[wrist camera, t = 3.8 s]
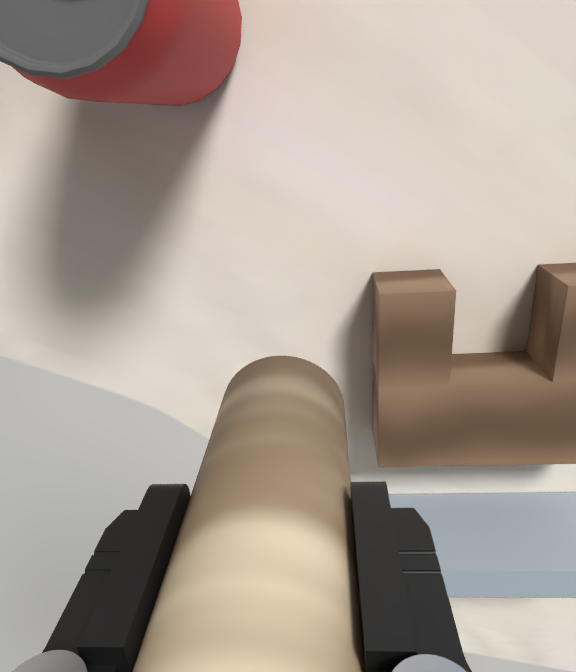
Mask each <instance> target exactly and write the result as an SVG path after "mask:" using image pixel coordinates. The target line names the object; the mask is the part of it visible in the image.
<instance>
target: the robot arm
mask: <svg viewBox="0 0 576 672" xmlns="http://www.w3.org/2000/svg"><path fill="white" fill-rule="evenodd" d="M350 495H351V510H352V523H353V535H354V547H355V559H356V572H357V584H358V596H359V609H360V621H361V633H362V646H363V658H364V670H365V672H472V671H471V670H470V668H469V666H468V664H467V662H466V660H465V657H464V654H463V651H462V647H461V644H460V640H459V636H458V632H457V629H456V625H455V621H454V617H453V614H452V610H451V606H450V602H449V598H448V595H447V591H446V587H445V583H444V580H443V576H442V575H441V568H440V564H439V561H438V557H437V555H436V549H435V546H434V542H433V538H432V534H431V530H430V527H429V526H428V525H427V523H426V522H425V521H424V520H423V518H422V517H421V516H420V515H419V513H418V512H417V511H416V510H415V508H391V506H390V501H389V495H388V490H387V485H386V482H351V483H350ZM190 497H191V496H190V492H189V488H188V486H187V485H186V484H153V485H151V486H149V488H148V489H147V492H146V494H145V496H144V498H143V500H142V503H141V505H140V507H139V509H138V510H124V511H123V512H122V513H121V514H120V515H119V516H118V517H117V518H116V519H115V520H114V521H113V522H112V523H111V524H110V525H109V526H108V527H107V528H106V529H105V531H104V533H103V535H102V537H101V539H100V541H99V543H98V545H97V547H96V549H95V551H94V555H92V557H91V559H90V560H89V563H88V565H87V566H86V568H85V574H82V576H81V578H80V580H79V582H78V584H77V586H76V588H75V590H74V592H73V594H72V596H71V598H70V600H69V602H68V604H67V606H66V608H65V610H64V612H63V614H62V616H61V618H60V620H59V621H58V624H57V626H56V627H55V630H54V631H53V633H52V635H51V637H50V639H49V641H48V643H47V645H46V647H45V649H44V650H43V652H42V653H41V654H39V655H36V656H34V657H32V658H30V659H29V660H27V661H25V662H24V663H22V664H21V665H20V666H18V667H17V668H16V669H15V670H14V671H12V672H133V669H134V666H135V663H136V660H137V657H138V654H139V651H140V648H141V645H142V642H143V639H144V636H145V633H146V630H147V627H148V624H149V621H150V618H151V615H152V612H153V609H154V605H155V602H156V599H157V596H158V593H159V590H160V587H161V584H162V581H163V578H164V575H165V572H166V569H167V566H168V563H169V560H170V557H171V554H172V551H173V548H174V545H175V542H176V539H177V536H178V533H179V530H180V527H181V524H182V521H183V518H184V515H185V512H186V509H187V506H188V503H189V500H190Z"/></svg>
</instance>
